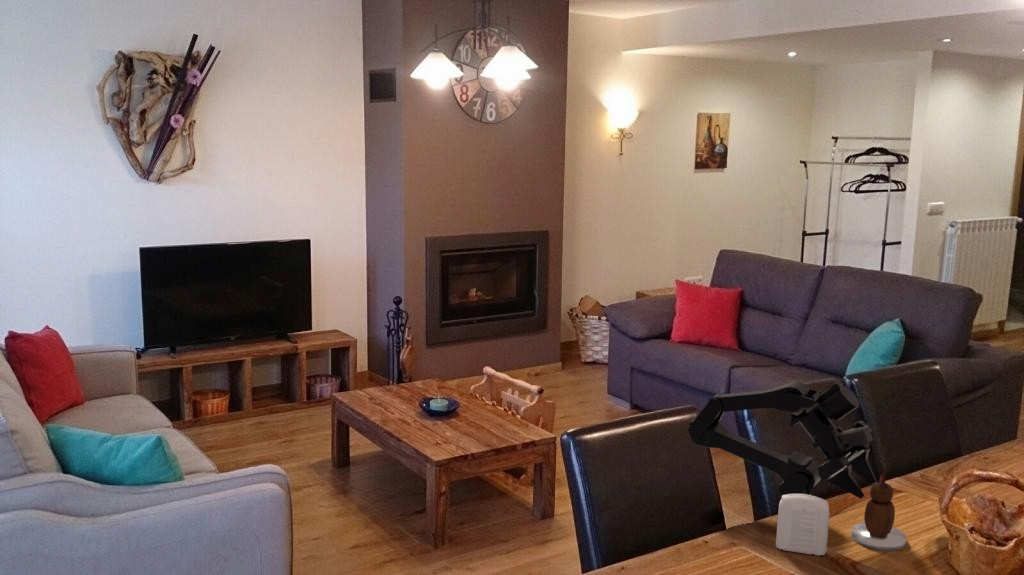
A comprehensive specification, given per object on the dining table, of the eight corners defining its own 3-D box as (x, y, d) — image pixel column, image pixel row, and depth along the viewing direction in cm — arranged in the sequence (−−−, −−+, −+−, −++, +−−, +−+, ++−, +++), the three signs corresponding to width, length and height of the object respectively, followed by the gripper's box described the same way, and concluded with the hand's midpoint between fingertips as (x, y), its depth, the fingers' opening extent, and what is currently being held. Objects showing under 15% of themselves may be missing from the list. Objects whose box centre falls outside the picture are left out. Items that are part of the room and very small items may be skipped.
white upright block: (826, 549, 192) (830, 494, 190) (826, 558, 188) (831, 502, 186) (775, 542, 195) (779, 488, 193) (775, 551, 191) (779, 495, 189)
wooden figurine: (887, 541, 192) (893, 475, 190) (859, 534, 196) (865, 468, 193) (896, 531, 197) (902, 466, 195) (869, 524, 201) (874, 459, 198)
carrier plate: (850, 545, 194) (851, 538, 193) (852, 525, 204) (852, 519, 203) (906, 554, 190) (907, 548, 189) (905, 533, 200) (905, 527, 199)
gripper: (836, 422, 190) (886, 485, 185) (864, 402, 204) (910, 460, 199) (796, 449, 196) (844, 511, 191) (826, 428, 210) (871, 485, 205)
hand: (869, 490), depth 197 cm, fingers open, 9 cm apart
